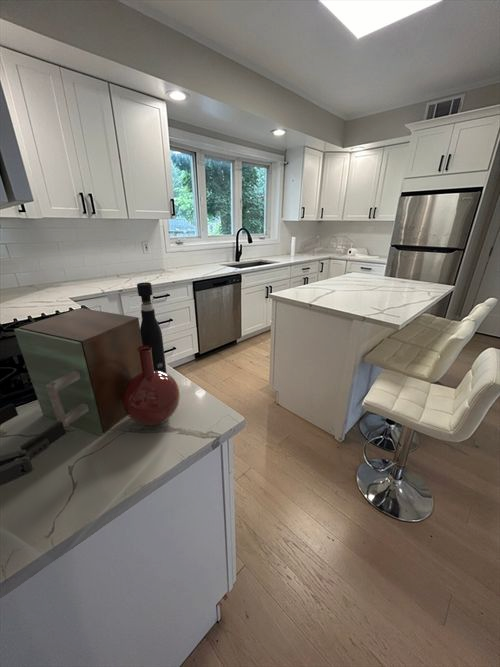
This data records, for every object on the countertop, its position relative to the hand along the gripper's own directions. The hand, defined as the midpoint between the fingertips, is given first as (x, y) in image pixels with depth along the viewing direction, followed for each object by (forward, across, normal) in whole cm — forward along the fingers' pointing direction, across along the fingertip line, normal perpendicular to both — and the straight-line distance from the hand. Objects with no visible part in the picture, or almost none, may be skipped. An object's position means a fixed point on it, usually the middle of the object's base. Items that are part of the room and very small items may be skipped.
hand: (38, 417), depth 53 cm
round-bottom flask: (+19, -10, +12) cm, 25 cm away
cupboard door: (+7, +8, +12) cm, 15 cm away
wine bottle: (+36, +4, +12) cm, 39 cm away
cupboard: (+18, +8, +12) cm, 23 cm away
